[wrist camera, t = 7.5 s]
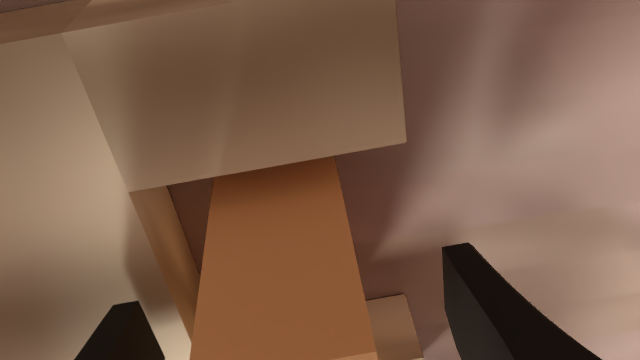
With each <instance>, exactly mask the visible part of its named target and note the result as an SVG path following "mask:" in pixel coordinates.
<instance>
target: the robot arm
mask: <svg viewBox="0 0 640 360" xmlns="http://www.w3.org/2000/svg"><path fill="white" fill-rule="evenodd" d="M442 258H443V280H444V303H445V311H446V315H447V318H448V321H449V325H450V328H451V331H452V335H453V338H454V341H455V344H456V347H457V350H458V352H459V355H460V357H461V359H462V360H602V359H600V358H599V357H598V356H596V355H595V354H593V353H592V352H591V351H589V350H588V349H586V348H585V347H584V346H582V345H581V344H580V343H578V342H577V341H576V340H574V339H573V338H572V337H570V336H569V335H568V334H566V333H565V332H564V331H563V330H561V329H560V328H559V327H558V326H556V325H555V324H554V323H553V322H552V321H550V320H549V319H548V318H547V317H546V316H544V315H543V314H542V313H541V312H540V311H539V310H537V309H536V308H535V307H534V306H533V305H532V304H531V303H530V302H528V301H527V300H526V299H525V298H524V297H523V296H522V295H521V294H520V293H519V292H517V291H516V290H515V289H514V288H513V287H512V286H511V285H510V284H509V283H508V282H507V281H506V280H505V279H504V278H503V277H502V276H501V275H500V274H499V273H498V272H497V271H496V270H495V269H494V268H493V267H492V266H491V265H490V264H489V263H488V262H487V261H486V260H485V259H484V258H483V257H482V255H481V254H480V253H479V252H478V251H477V250H476V249H475V248H474V247H473V246H472V245H471V244H469V243H463V244H457V245H451V246H446V247H442ZM74 360H165V356H164V354H163V352H162V350H161V347H160V345H159V343H158V341H157V339H156V337H155V335H154V332H153V330H152V328H151V326H150V324H149V322H148V320H147V318H146V315H145V313H144V311H143V309H142V307H141V305H140V303H139V300H138V301H132V302H127V303H121V304H115V305H113V306H112V307H111V309H110V310H109V311H108V313H107V314H106V315H105V317H104V318H103V319H102V321H101V322H100V324H99V325H98V326H97V328H96V329H95V331H94V332H93V334H92V335H91V336H90V338H89V339H88V341H87V342H86V343H85V345H84V346H83V348H82V349H81V351H80V352H79V353H78V355H77V356H76V358H75V359H74Z"/></svg>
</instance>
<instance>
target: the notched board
mask: <svg viewBox="0 0 640 360" xmlns="http://www.w3.org/2000/svg"><path fill="white" fill-rule="evenodd" d="M402 143H407V139H406V126H405V114H404V101H403V88H402V76H401V63H400V50H399V38H398V25H397V12H396V0H70V1H64V2H59V3H53V4H48V5H42V6H37V7H31V8H26V9H20V10H15V11H9V12H4V13H0V360H74V359H75V358H76V356H77V355H78V353H79V352H80V351H81V349H82V348H83V346H84V345H85V343H86V342H87V341H88V339H89V338H90V336H91V335H92V334H93V332H94V331H95V329H96V328H97V326H98V325H99V324H100V322H101V321H102V319H103V318H104V317H105V315H106V314H107V313H108V311H109V310H110V309H111V307H112V306H113V305H115V304H121V303H127V302H132V301H138V300H139V303H140V305H141V307H142V309H143V311H144V313H145V315H146V318H147V320H148V322H149V324H150V326H151V328H152V330H153V332H154V335H155V337H156V339H157V341H158V343H159V345H160V347H161V350H162V352H163V354H164V356H165V360H189V359H190V352H191V344H192V337H193V329H194V322H195V314H196V307H197V299H198V291H199V284H200V275H199V272H198V269H197V267H196V264H195V261H194V258H193V256H192V253H191V250H190V248H189V245H188V242H187V240H186V237H185V234H184V231H183V229H182V226H181V223H180V221H179V218H178V215H177V213H176V210H175V207H174V205H173V202H172V199H171V196H170V194H169V191H168V188H167V186H166V185H172V184H177V183H183V182H189V181H194V180H200V179H205V178H211V177H217V176H222V175H228V174H234V173H239V172H245V171H250V170H256V169H262V168H267V167H273V166H278V165H284V164H290V163H295V162H301V161H307V160H312V159H318V158H323V157H329V156H335V155H340V154H346V153H351V152H357V151H363V150H368V149H374V148H380V147H385V146H391V145H396V144H402ZM366 306H367V310H368V315H369V319H370V324H371V329H372V333H373V338H374V343H375V347H376V352H377V358H378V360H424V357H423V353H422V350H421V347H420V343H419V340H418V337H417V333H416V330H415V327H414V323H413V320H412V317H411V313H410V310H409V307H408V303H407V300H406V296H405V294H402V295H396V296H391V297H385V298H379V299H373V300H368V301H366Z"/></svg>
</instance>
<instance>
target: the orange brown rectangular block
mask: <svg viewBox="0 0 640 360" xmlns="http://www.w3.org/2000/svg"><path fill="white" fill-rule="evenodd" d="M189 360H378V358H377V352H376V347H375V343H374V338H373V333H372V329H371V324H370V319H369V315H368V310H367V306H366V301H365V296H364V292H363V287H362V282H361V278H360V273H359V268H358V264H357V259H356V254H355V250H354V245H353V240H352V236H351V231H350V226H349V222H348V217H347V213H346V208H345V203H344V199H343V194H342V189H341V185H340V180H339V175H338V171H337V166H336V161H335V157H334V156H329V157H323V158H318V159H312V160H307V161H301V162H295V163H290V164H284V165H278V166H273V167H267V168H262V169H256V170H250V171H245V172H239V173H234V174H228V175H222V176H217V177H214V179H213V186H212V194H211V201H210V209H209V216H208V224H207V231H206V239H205V246H204V254H203V261H202V269H201V276H200V284H199V291H198V299H197V307H196V314H195V322H194V329H193V337H192V344H191V352H190V359H189Z"/></svg>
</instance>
